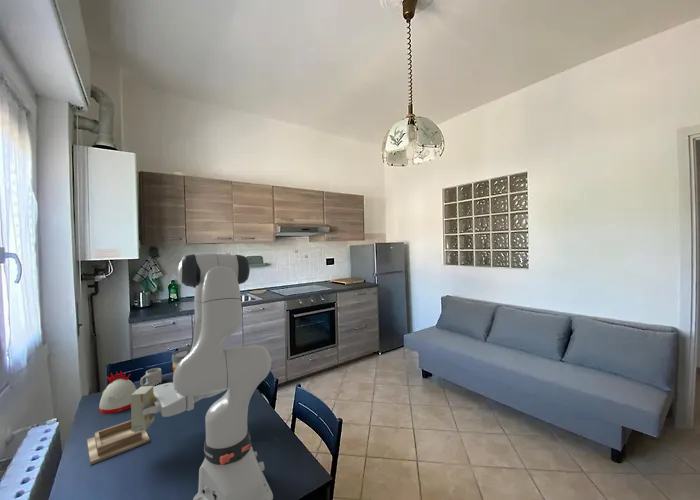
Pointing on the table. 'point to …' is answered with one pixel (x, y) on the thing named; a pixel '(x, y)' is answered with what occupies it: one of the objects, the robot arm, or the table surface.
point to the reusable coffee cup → (178, 357)
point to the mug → (152, 377)
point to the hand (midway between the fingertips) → (139, 407)
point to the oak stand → (114, 441)
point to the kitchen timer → (117, 394)
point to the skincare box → (138, 402)
